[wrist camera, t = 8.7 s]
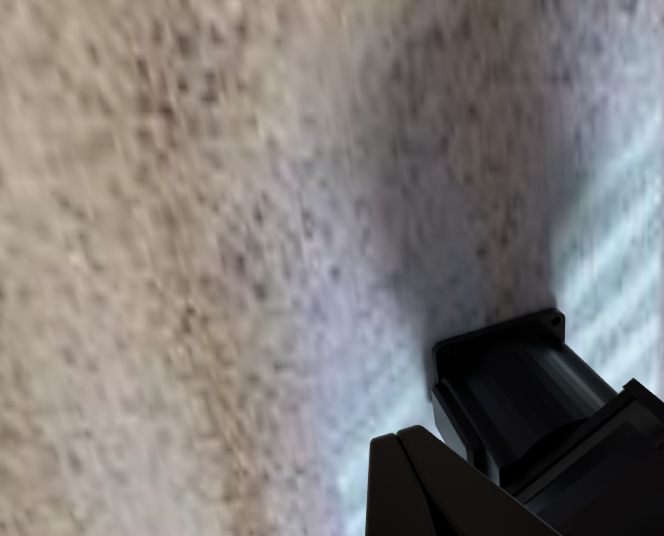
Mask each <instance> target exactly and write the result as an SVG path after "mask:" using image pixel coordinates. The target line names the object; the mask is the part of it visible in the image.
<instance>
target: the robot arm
mask: <svg viewBox="0 0 664 536" xmlns="http://www.w3.org/2000/svg"><path fill="white" fill-rule="evenodd" d="M553 318H555V319H554V320H553V321H551V320H552V319H553ZM444 350H447V351H446V352H445V353H443V354H441V353H442V352H443V351H444ZM432 355H433V363H434V371H435V379H436V384H433V386H432V388H431V395H432V402H433V410H434V417H435V424H436V427H437V429H438V431H439V432H440V434H441V436H442V438H443V440H444V442H445V443H443V442H442V441H441V440H439V439H438V438H437V437H436V436H434V435H433V434H432V433H431V432H429V431H428V430H427V429H425V428H424V427H423V426H421V425H414V426H411V427H408V428H405V429H402V430H399V431H398V432H397V433H396V435H395V434H394V433H389V434H386V435H382V436H379V437H376V438H373V439H372V440H371V442H370V452H369V471H368V490H367V509H366V527H365V536H664V402H663V401H661V400H660V399H659V398H658V397H656V396H655V395H654V394H653V393H652V392H650V391H649V390H648V389H647V388H645V387H644V386H643V385H642V384H640V383H639V382H638V381H637V380H636V379H634V378H632V379H631V380H630V381H629V382H628V383H626V384H625V385H624V386H623V388H624V389H623V390H622V391H621V392H620V393H617V392H616V391H615V390H614V389H613V388H612V387H611V386H610V385H609V384H608V383H606V382H605V381H604V380H603V379H602V378H601V377H600V376H599V375H598V374H597V373H596V372H595V371H594V370H593V369H592V368H591V367H590V366H589V365H588V364H586V363H585V362H584V361H583V360H582V359H581V358H580V357H579V356H578V355H577V354H576V353H575V352H574V351H573V350H572V349H571V348H570V347H569V346H568V345H566V344H565V315H564V314H563V313H562V312H561V311H559V310H558V309H556V308H551V309H547V310H544V311H541V312H537V313H534V314H531V315H527V316H524V317H520V318H517V319H514V320H510V321H507V322H504V323H500V324H497V325H494V326H490V327H487V328H483V329H480V330H477V331H473V332H470V333H467V334H463V335H460V336H457V337H453V338H450V339H446V340H443V341H440V342H438V343H437V344H436V345H435V346H434V347H433V349H432Z"/></svg>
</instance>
